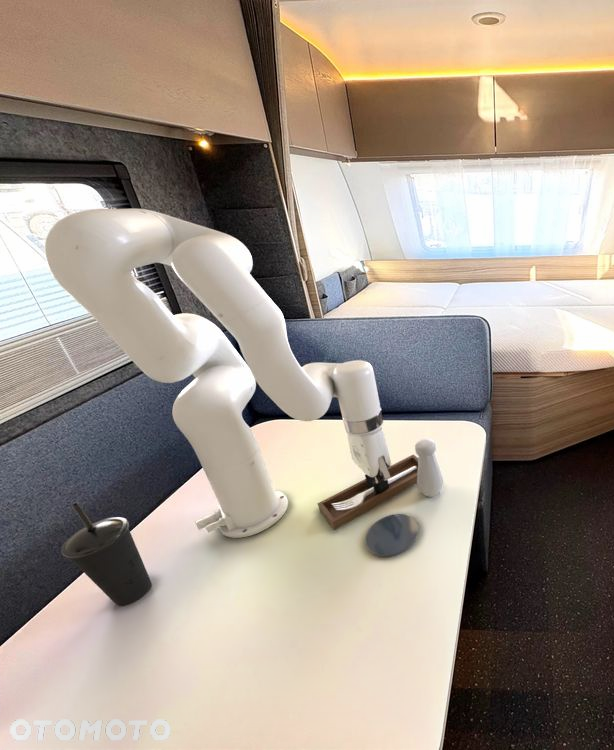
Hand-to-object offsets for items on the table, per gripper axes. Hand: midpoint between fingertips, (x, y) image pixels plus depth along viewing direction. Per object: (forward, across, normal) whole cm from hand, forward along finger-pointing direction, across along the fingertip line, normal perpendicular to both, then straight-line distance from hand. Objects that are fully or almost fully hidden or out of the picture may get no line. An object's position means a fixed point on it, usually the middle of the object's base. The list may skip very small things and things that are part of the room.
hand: (378, 489), depth 87 cm
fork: (0, 0, 0) cm, 0 cm away
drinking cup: (+1, -8, -42) cm, 43 cm away
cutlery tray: (+1, 0, 0) cm, 1 cm away
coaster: (+1, +13, -4) cm, 14 cm away
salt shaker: (+1, +8, +8) cm, 12 cm away
